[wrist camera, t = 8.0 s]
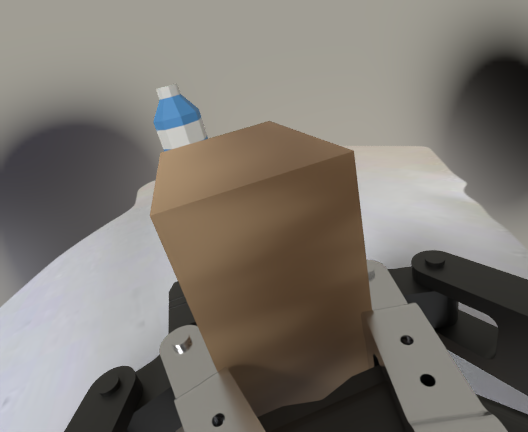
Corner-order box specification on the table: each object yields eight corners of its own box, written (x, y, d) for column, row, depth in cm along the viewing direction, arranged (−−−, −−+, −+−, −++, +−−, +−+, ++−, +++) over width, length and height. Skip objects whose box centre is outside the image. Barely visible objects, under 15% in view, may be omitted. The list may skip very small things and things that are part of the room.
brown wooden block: (286, 530, 11) (149, 216, 6) (247, 382, 16) (160, 152, 11) (391, 479, 11) (353, 151, 6) (320, 352, 17) (269, 120, 12)
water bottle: (231, 201, 69) (194, 79, 59) (190, 217, 67) (144, 92, 56) (219, 190, 77) (185, 81, 67) (182, 204, 75) (140, 93, 64)
